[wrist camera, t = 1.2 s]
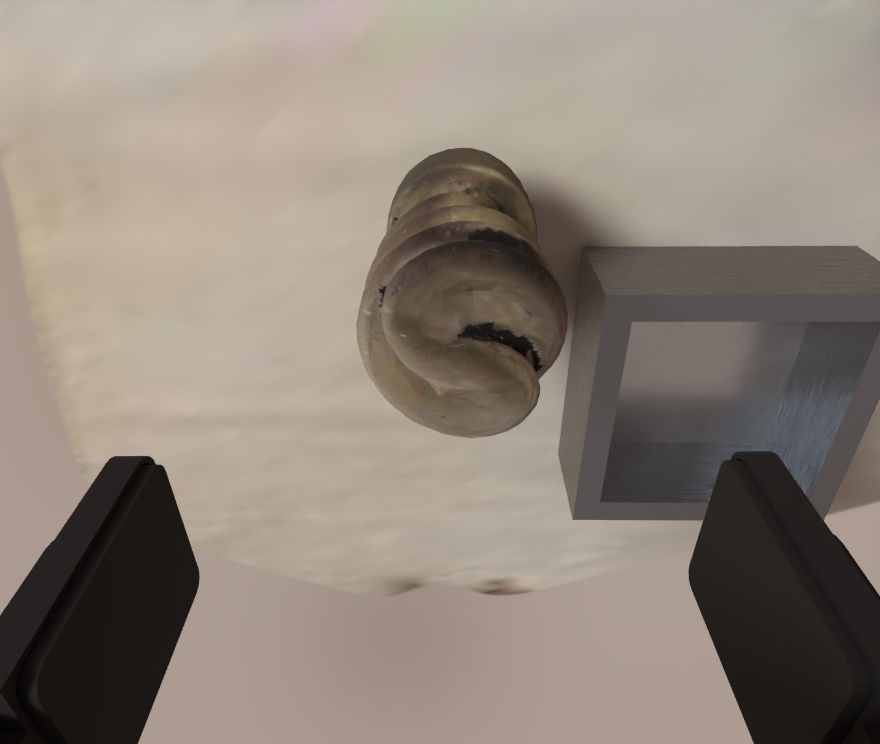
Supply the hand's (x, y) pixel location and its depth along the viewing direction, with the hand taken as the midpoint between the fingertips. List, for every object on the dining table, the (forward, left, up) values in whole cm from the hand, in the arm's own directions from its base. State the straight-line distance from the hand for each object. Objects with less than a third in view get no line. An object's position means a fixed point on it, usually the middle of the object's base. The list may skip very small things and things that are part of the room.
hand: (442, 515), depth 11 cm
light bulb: (0, 0, -20) cm, 20 cm away
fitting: (-12, +9, -20) cm, 25 cm away
